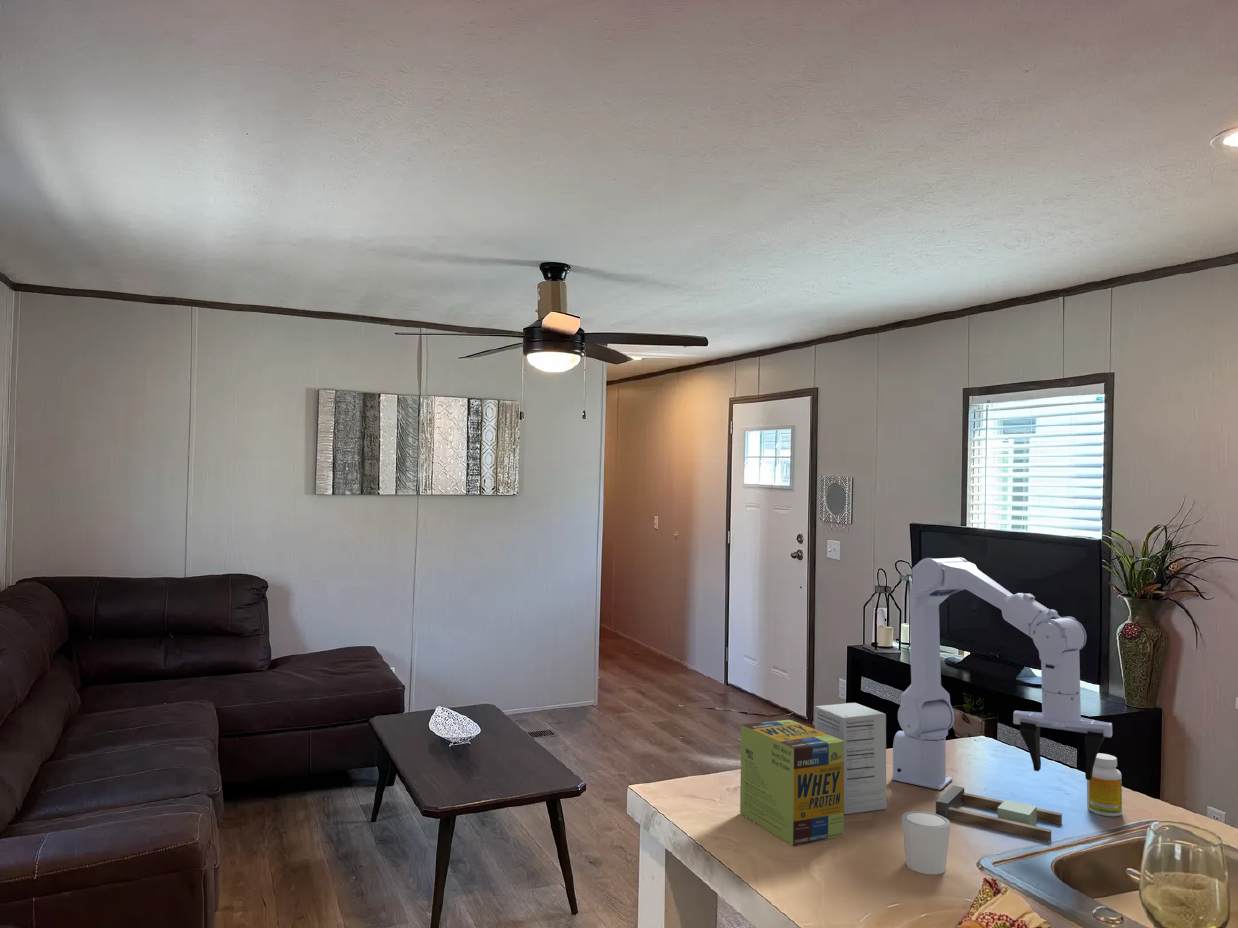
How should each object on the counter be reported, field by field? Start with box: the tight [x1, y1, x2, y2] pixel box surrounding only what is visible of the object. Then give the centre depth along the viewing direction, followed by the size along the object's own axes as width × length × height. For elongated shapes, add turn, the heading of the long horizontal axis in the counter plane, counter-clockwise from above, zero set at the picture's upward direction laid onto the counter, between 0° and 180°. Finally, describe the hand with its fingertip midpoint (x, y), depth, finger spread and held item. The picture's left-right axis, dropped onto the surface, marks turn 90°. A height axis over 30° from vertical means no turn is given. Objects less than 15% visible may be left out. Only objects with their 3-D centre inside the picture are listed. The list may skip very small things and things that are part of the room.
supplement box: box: [814, 702, 887, 815], centre depth 154 cm, size 10×9×17 cm
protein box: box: [739, 719, 845, 847], centre depth 143 cm, size 10×15×16 cm
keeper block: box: [996, 799, 1038, 826], centre depth 145 cm, size 5×5×3 cm
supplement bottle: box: [1086, 752, 1123, 817], centre depth 151 cm, size 5×5×10 cm
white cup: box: [901, 810, 951, 875], centre depth 128 cm, size 7×7×7 cm
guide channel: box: [935, 784, 1063, 842], centre depth 147 cm, size 18×10×2 cm, turn 53°
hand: (1062, 773), depth 141 cm, fingers open, 7 cm apart
